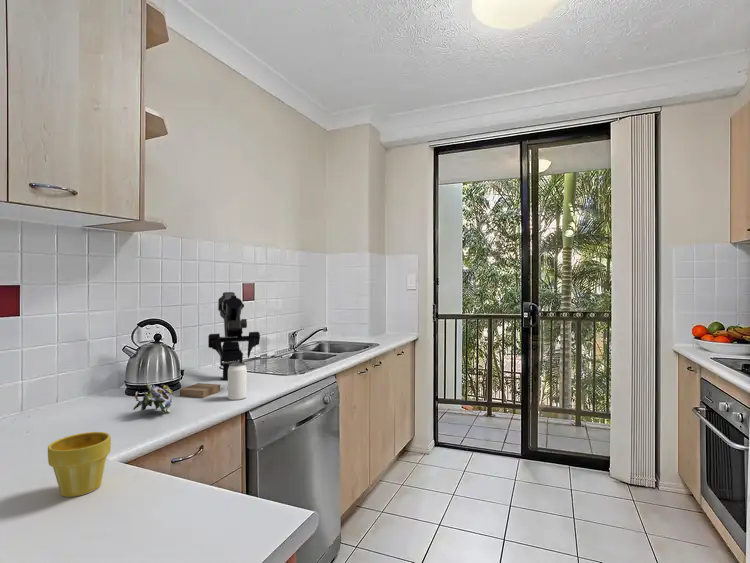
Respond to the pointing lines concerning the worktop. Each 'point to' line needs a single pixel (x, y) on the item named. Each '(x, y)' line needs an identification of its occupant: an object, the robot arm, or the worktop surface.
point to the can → (237, 381)
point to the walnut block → (200, 390)
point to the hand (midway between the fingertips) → (235, 358)
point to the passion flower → (156, 398)
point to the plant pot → (79, 462)
